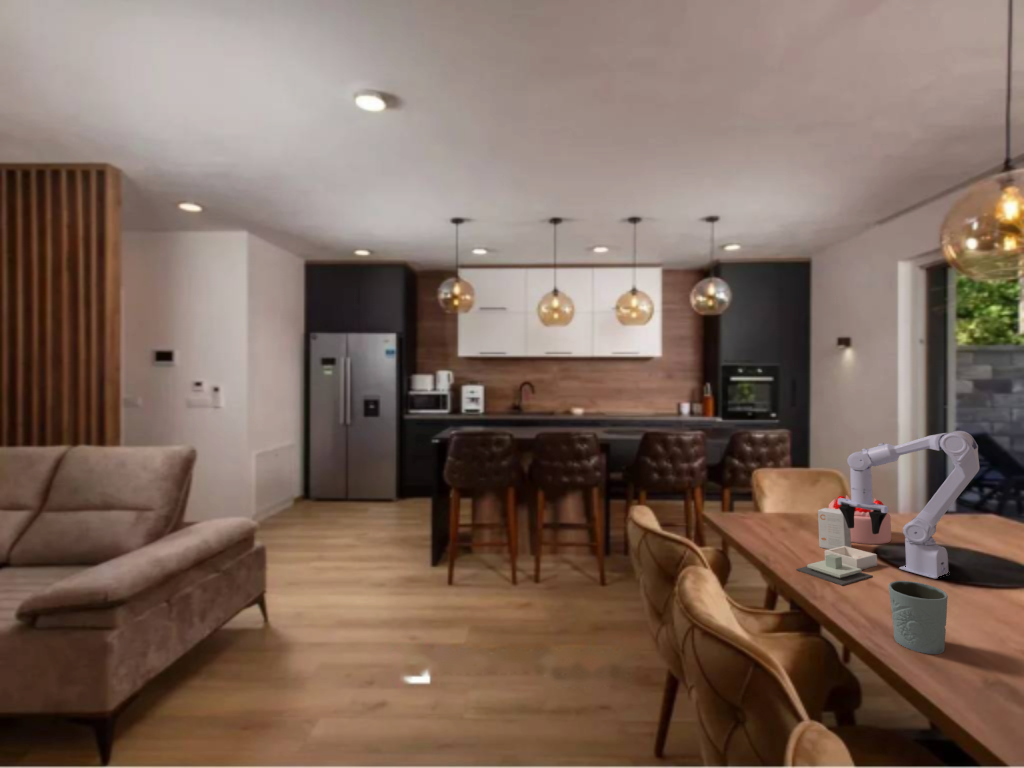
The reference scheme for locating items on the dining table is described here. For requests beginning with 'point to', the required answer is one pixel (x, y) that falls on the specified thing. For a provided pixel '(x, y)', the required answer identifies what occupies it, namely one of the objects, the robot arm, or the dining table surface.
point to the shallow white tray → (854, 557)
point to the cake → (866, 525)
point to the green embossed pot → (919, 616)
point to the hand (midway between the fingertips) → (863, 530)
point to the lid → (834, 567)
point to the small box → (833, 529)
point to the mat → (839, 581)
